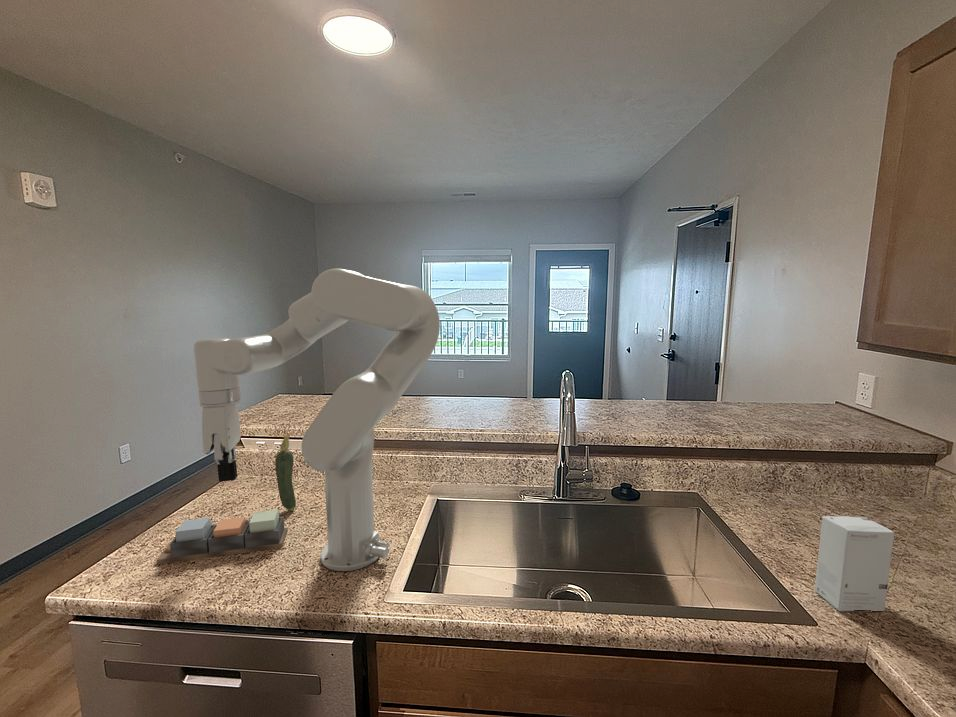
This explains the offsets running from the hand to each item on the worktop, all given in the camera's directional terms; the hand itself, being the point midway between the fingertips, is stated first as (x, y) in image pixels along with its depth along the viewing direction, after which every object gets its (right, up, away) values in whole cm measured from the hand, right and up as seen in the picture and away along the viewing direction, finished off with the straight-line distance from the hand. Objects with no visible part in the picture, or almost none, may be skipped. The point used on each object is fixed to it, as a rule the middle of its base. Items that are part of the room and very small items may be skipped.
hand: (228, 479), depth 94 cm
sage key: (+6, -13, +3) cm, 15 cm away
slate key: (-7, -13, 0) cm, 15 cm away
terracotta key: (0, -14, +2) cm, 14 cm away
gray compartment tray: (0, -15, +2) cm, 16 cm away
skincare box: (+121, -18, -16) cm, 123 cm away
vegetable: (+5, -14, +19) cm, 23 cm away
